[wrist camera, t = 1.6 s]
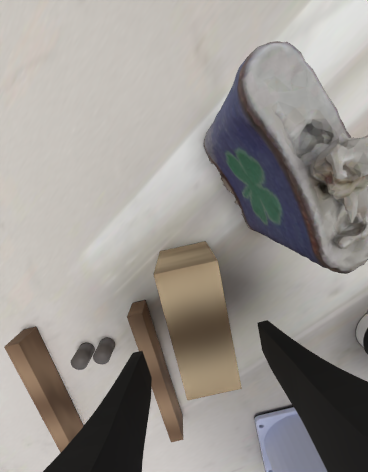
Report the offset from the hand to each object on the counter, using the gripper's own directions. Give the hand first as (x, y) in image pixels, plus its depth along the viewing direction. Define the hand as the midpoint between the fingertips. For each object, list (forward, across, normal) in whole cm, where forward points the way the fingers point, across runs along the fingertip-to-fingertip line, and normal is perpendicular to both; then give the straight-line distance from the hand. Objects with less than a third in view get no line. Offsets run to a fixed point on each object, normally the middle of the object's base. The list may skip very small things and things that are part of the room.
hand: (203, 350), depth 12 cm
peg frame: (+6, +10, +6) cm, 13 cm away
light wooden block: (+6, 0, 0) cm, 6 cm away
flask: (+6, -6, -9) cm, 12 cm away
